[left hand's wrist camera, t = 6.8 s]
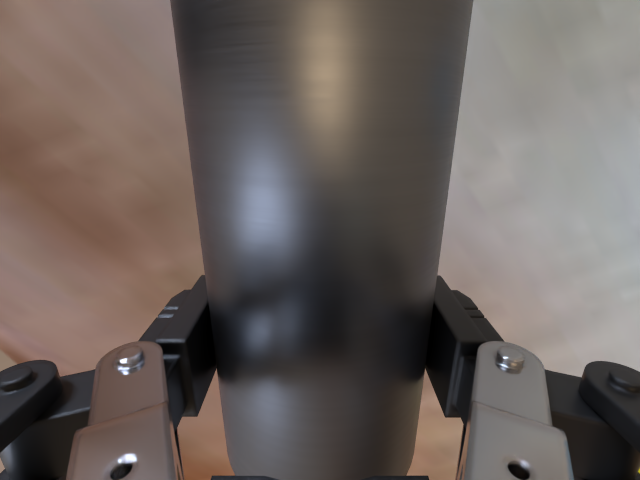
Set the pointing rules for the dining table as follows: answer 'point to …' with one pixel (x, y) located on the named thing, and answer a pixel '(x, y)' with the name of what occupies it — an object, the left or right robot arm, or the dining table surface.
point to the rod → (321, 218)
